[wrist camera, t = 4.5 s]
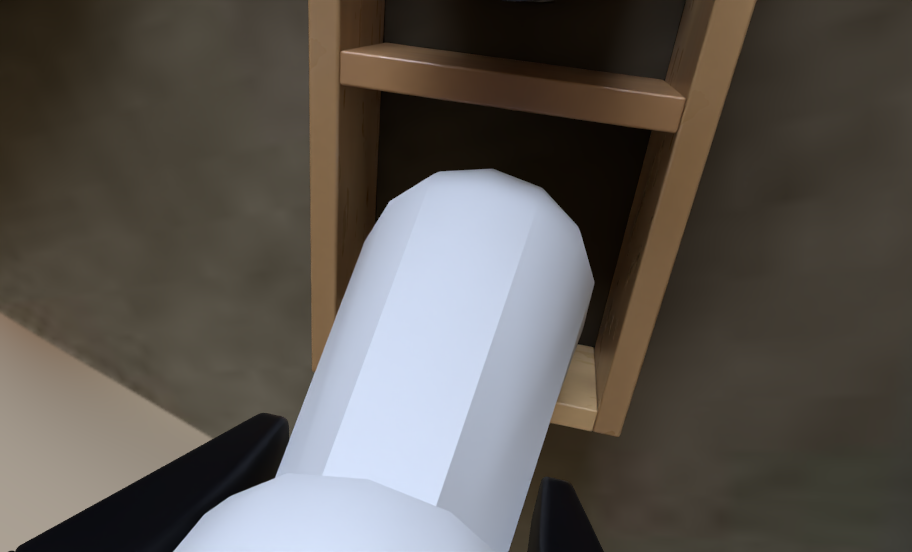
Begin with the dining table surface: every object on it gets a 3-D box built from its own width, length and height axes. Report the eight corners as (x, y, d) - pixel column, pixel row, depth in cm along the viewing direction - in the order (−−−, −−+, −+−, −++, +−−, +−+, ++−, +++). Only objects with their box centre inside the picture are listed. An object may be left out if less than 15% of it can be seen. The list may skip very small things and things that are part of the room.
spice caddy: (824, -371, 11) (919, -514, 8) (612, 370, 20) (619, 438, 16) (369, -388, 12) (301, -519, 9) (350, 318, 21) (310, 372, 18)
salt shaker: (406, 331, 18) (107, 910, 7) (375, 155, 16) (-184, 583, 4) (593, 331, 17) (626, 1055, 5) (590, 138, 14) (638, 699, 3)
